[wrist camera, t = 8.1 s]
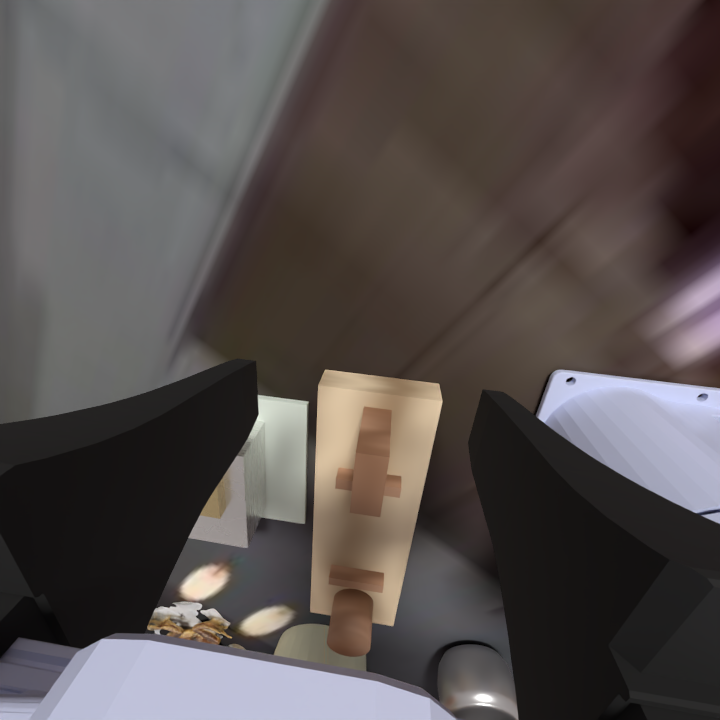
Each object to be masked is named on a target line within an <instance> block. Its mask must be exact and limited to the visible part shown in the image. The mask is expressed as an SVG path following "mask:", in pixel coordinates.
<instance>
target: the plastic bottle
mask: <svg viewBox="0 0 720 720" xmlns="http://www.w3.org/2000/svg"><path fill="white" fill-rule="evenodd" d="M437 689H438V695H439V701H440V703H441V704H443V705H444V706H445V707H447V708H448V709H449V710H450V711H451V712H452V713H453V714H454V715H455V717H456V718H460V719H465V720H519V719H518V710H517V701H516V692H515V682H514V679H513V677H512V674H511V671H510V668H509V666H508V664H507V663H506V662H505V660H504V659H503V658H502V657H501V655H500V654H499V653H498V652H496V651H495V650H493V649H491V648H489V647H486V646H482V645H475V644H465V645H459V646H455V647H452V648H450V649H449V650H447V651H446V652H445V653H444V655H443V657H442V659H441V661H440V663H439V666H438V679H437Z"/></svg>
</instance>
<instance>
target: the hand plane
mask: <svg viewBox="0 0 720 720" xmlns="http://www.w3.org/2000/svg"><path fill="white" fill-rule="evenodd" d="M441 406H442V396H441V391H440V386H439V384H437V383H429V382H421V381H413V380H405V379H397V378H389V377H381V376H373V375H365V374H357V373H349V372H341V371H333V370H325V371H324V374H323V376H322V378H321V380H320V383H319V385H318V406H317V434H316V462H315V490H314V518H313V546H312V574H311V602H310V612H312V613H318V614H324V615H330V616H331V618H330V624H329V630H328V636H327V645H328V646H329V648H330V649H331V650H333V651H334V652H336V653H338V654H340V655H344V656H349V657H359V656H363V655H365V654H367V653H368V652H369V651H370V646H371V631H372V623H377V624H383V625H389V626H393V625H394V620H395V616H396V611H397V606H398V602H399V597H400V593H401V588H402V584H403V579H404V575H405V570H406V565H407V561H408V556H409V552H410V547H411V543H412V538H413V534H414V529H415V524H416V520H417V515H418V511H419V506H420V502H421V497H422V493H423V488H424V483H425V479H426V474H427V470H428V465H429V461H430V456H431V452H432V447H433V442H434V438H435V433H436V429H437V424H438V420H439V415H440V411H441Z"/></svg>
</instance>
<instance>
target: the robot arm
mask: <svg viewBox="0 0 720 720" xmlns="http://www.w3.org/2000/svg"><path fill="white" fill-rule="evenodd" d="M570 377H573V379H572V380H571V381H570V382H566V380H567V379H568V378H570ZM700 394H702V395H701V396H700V397H698V396H699V395H700ZM697 397H698V398H697ZM258 415H259V409H258V390H257V371H256V361H251V360H243V359H235V360H231V361H228V362H225V363H223V364H220V365H217V366H215V367H212V368H210V369H207V370H205V371H202V372H200V373H197V374H195V375H193V376H190V377H188V378H185V379H182V380H180V381H177V382H174V383H172V384H169V385H166V386H163V387H161V388H158V389H155V390H152V391H149V392H146V393H143V394H140V395H137V396H134V397H130V398H127V399H123V400H120V401H116V402H113V403H109V404H105V405H101V406H96V407H92V408H87V409H83V410H78V411H74V412H69V413H65V414H60V415H55V416H49V417H43V418H38V419H32V420H25V421H19V422H12V423H5V424H0V720H465V719H460V718H456V717H455V715H454V714H453V713H452V712H451V711H450V710H449V709H448V708H447V707H445V706H444V705H443V704H441V703H440V702H439V701H438V700H436V699H435V698H434V697H433V696H431V695H430V694H429V693H428V692H426V691H425V690H424V689H423V688H420V687H417V686H414V685H411V684H408V683H405V682H402V681H399V680H396V679H392V678H389V677H386V676H383V675H380V674H377V673H372V672H366V671H361V670H355V669H349V668H344V667H338V666H333V665H327V664H321V663H316V662H310V661H305V660H299V659H293V658H288V657H282V656H277V655H271V654H265V653H260V652H254V651H249V650H243V649H237V648H232V647H226V646H221V645H215V644H209V643H204V642H198V641H193V640H187V639H181V638H176V637H170V636H165V635H159V634H145V631H146V629H147V626H148V624H149V622H150V619H151V617H152V615H153V612H154V610H155V608H156V606H157V603H158V601H159V599H160V597H161V595H162V592H163V590H164V588H165V586H166V583H167V581H168V579H169V577H170V575H171V572H172V570H173V568H174V566H175V564H176V562H177V560H178V558H179V556H180V554H181V552H182V550H183V547H184V545H185V543H186V541H187V539H188V537H189V535H190V533H191V531H192V529H193V527H194V526H195V524H196V522H197V520H198V518H199V516H200V514H201V512H202V510H203V508H204V506H205V505H206V503H207V501H208V500H209V498H210V496H211V495H212V493H213V492H214V490H215V489H216V487H217V486H218V484H219V482H220V481H221V479H222V478H223V476H224V475H225V473H226V472H227V470H228V469H229V467H230V466H231V464H232V463H233V461H234V460H235V458H236V456H237V455H238V453H239V452H240V450H241V449H242V447H243V445H244V444H245V442H246V441H247V439H248V437H249V435H250V433H251V431H252V428H253V426H254V424H255V422H256V419H257V417H258ZM468 445H469V453H470V461H471V467H472V473H473V476H474V480H475V484H476V487H477V491H478V494H479V498H480V501H481V505H482V508H483V512H484V515H485V519H486V522H487V526H488V529H489V533H490V536H491V540H492V544H493V548H494V552H495V557H496V563H497V568H498V574H499V580H500V585H501V591H502V598H503V604H504V611H505V617H506V623H507V630H508V637H509V645H510V652H511V660H512V667H513V675H514V682H515V692H516V701H517V710H518V719H519V720H720V389H719V388H711V387H703V386H694V385H686V384H678V383H669V382H661V381H653V380H644V379H636V378H628V377H619V376H611V375H603V374H594V373H586V372H578V371H569V370H556V371H554V372H553V373H552V374H551V376H550V378H549V381H548V383H547V386H546V389H545V392H544V394H543V397H542V400H541V403H540V405H539V408H538V411H537V414H536V416H535V415H533V414H532V413H531V412H530V411H528V410H527V409H526V408H525V407H523V406H522V405H521V404H519V403H518V402H517V401H515V400H514V399H513V398H511V397H510V396H509V395H507V394H505V393H504V392H499V391H491V390H482V394H481V398H480V401H479V405H478V409H477V412H476V416H475V420H474V423H473V427H472V431H471V434H470V438H469V441H468Z"/></svg>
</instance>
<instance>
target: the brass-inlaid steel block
mask: <svg viewBox="0 0 720 720" xmlns="http://www.w3.org/2000/svg"><path fill="white" fill-rule="evenodd" d="M265 508H266V471H265V421H259V420H256V422H255V424H254V426H253V428H252V431H251V433H250V435H249V437H248V439H247V441H246V442H245V444H244V445H243V447H242V449H241V450H240V452H239V453H238V455H237V456H236V458H235V460H234V461H233V463H232V464H231V466H230V467H229V469H228V470H227V472H226V473H225V475H224V476H223V478H222V479H221V481H220V482H219V484H218V486H217V487H216V489H215V490H214V492H213V493H212V495H211V496H210V498H209V500H208V501H207V503H206V505H205V506H204V508H203V510H202V512H201V514H200V516H199V518H198V520H197V522H196V524H195V526H194V527H193V529H192V531H191V533H190V535H189V537H188V538H193V539H198V540H204V541H210V542H215V543H221V544H227V545H233V546H238V547H244V548H248V547H249V544H250V542H251V540H252V538H253V535H254V533H255V531H256V528H257V526H258V524H259V522H260V519H261V517H262V515H263V513H264V510H265Z"/></svg>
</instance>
